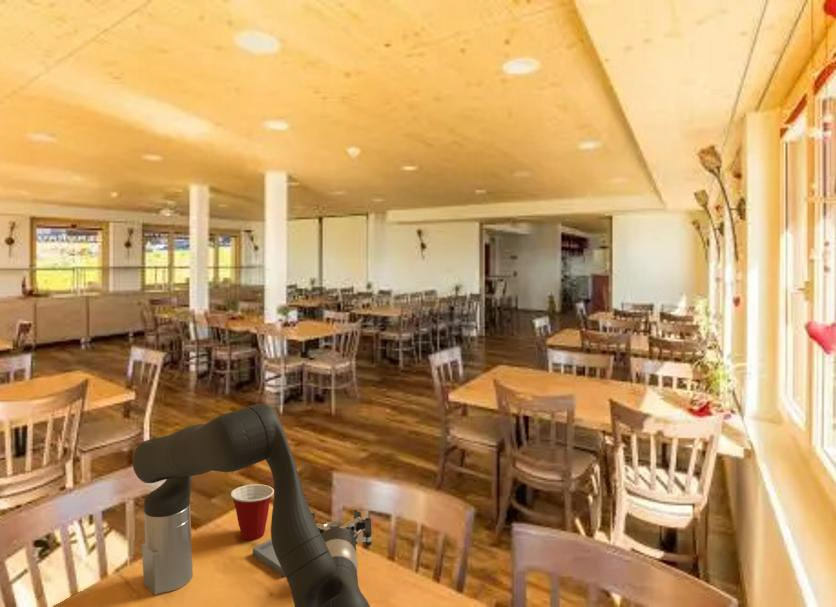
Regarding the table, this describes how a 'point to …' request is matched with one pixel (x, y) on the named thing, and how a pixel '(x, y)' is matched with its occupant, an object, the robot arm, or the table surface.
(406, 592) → the table surface
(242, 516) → the plastic cup
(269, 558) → the serving tray
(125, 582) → the table surface
